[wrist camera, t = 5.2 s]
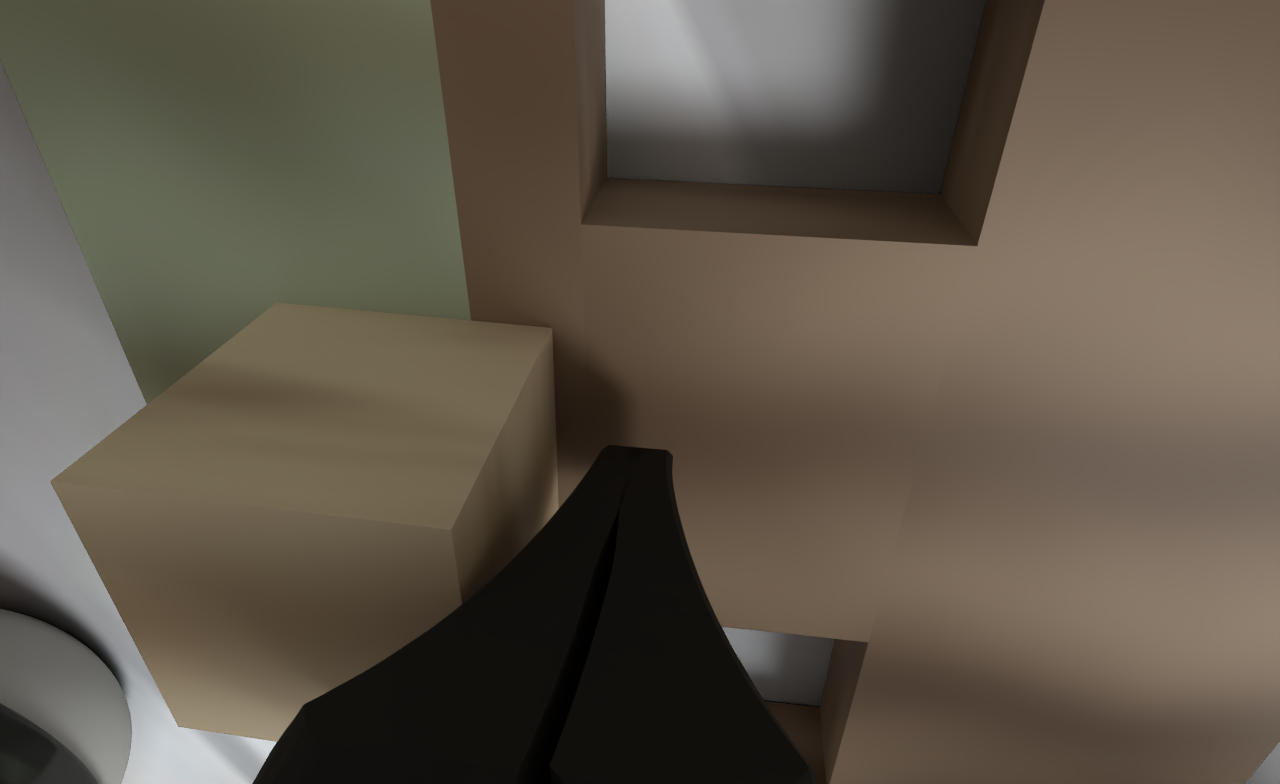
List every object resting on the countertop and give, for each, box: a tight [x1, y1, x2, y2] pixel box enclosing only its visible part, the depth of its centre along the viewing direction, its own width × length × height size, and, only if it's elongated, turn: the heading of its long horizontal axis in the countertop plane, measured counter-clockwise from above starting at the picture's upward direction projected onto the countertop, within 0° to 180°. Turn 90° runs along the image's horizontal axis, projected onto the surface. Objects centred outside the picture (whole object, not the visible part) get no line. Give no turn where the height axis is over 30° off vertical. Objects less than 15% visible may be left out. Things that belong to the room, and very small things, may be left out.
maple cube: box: [50, 303, 559, 742], centre depth 12 cm, size 5×5×5 cm
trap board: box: [0, 0, 1280, 784], centre depth 15 cm, size 24×24×2 cm
